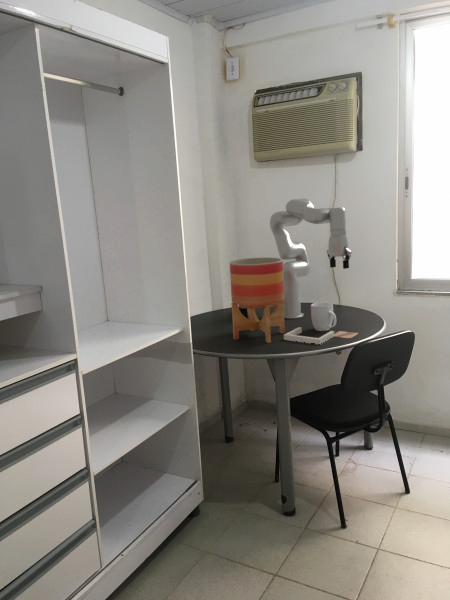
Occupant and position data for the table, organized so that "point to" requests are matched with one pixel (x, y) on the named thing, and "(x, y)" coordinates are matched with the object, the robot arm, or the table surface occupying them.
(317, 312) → the mug
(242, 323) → the planter
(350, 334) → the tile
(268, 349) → the table surface
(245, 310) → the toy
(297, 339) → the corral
